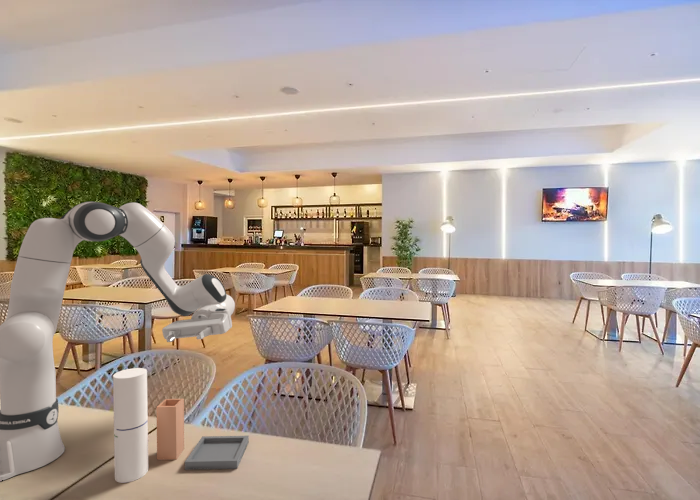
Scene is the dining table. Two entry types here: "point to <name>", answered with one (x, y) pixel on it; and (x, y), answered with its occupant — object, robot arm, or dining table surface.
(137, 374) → the cylindrical container
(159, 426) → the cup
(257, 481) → the dining table surface
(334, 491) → the dining table surface
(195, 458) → the tray
